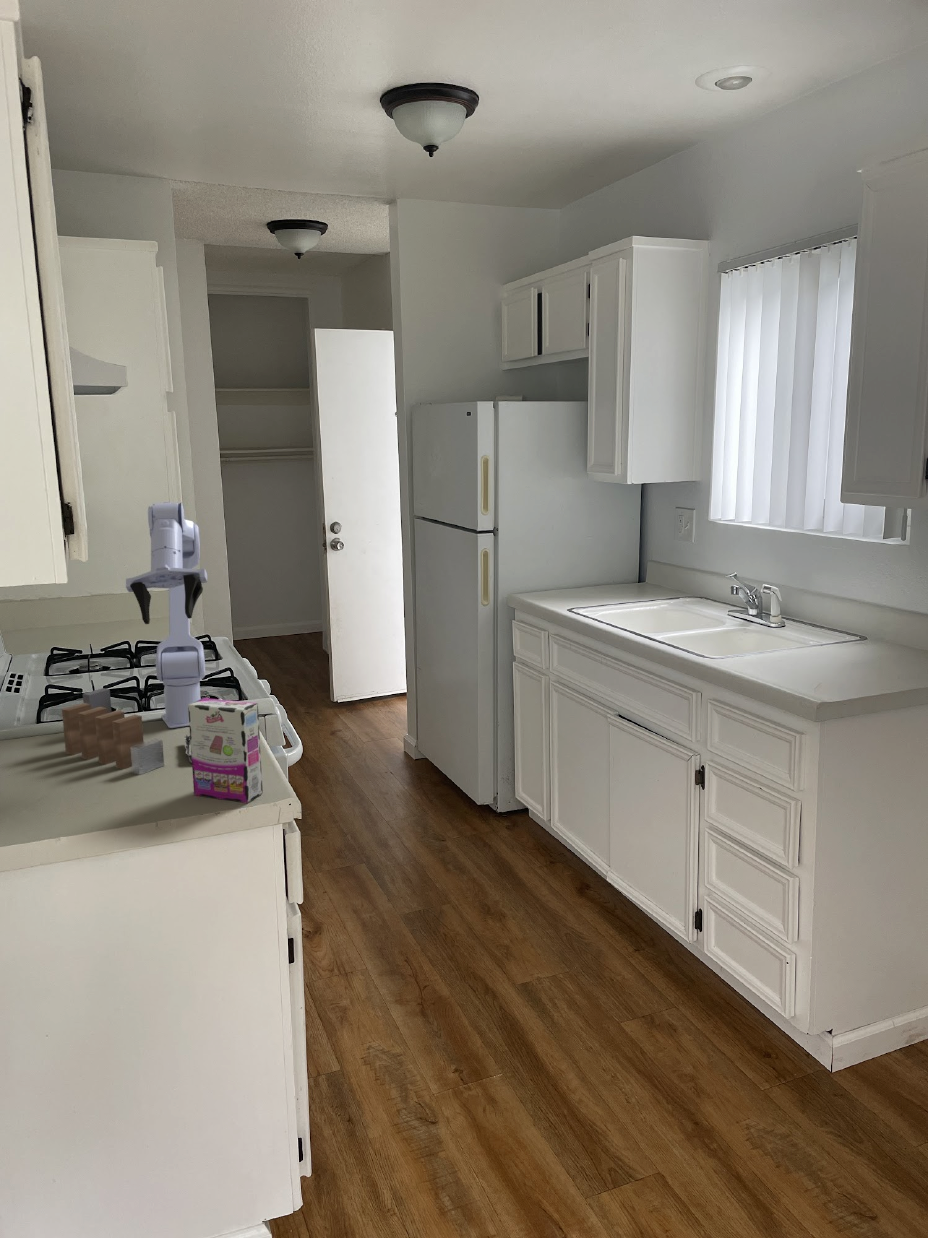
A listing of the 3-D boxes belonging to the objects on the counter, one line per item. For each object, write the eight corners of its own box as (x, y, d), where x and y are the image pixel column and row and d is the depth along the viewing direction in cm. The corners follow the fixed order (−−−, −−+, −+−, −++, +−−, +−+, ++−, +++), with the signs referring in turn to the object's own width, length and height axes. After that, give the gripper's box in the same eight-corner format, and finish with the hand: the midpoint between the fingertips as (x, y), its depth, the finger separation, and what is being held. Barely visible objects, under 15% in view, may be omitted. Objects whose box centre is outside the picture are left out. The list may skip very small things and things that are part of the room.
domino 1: (65, 753, 182) (61, 709, 180) (88, 746, 186) (84, 702, 184) (72, 755, 180) (68, 710, 179) (94, 748, 185) (90, 704, 183)
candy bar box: (264, 793, 161) (259, 702, 158) (248, 804, 156) (243, 710, 153) (209, 785, 165) (204, 696, 161) (192, 795, 160) (186, 704, 157)
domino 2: (86, 735, 192) (82, 693, 190) (106, 729, 196) (103, 688, 195) (92, 737, 191) (88, 695, 189) (113, 730, 195) (109, 689, 193)
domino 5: (116, 767, 174) (112, 721, 172) (138, 759, 178) (134, 714, 176) (123, 769, 173) (119, 723, 171) (145, 761, 177) (141, 716, 175)
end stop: (132, 772, 171) (130, 747, 170) (157, 763, 176) (155, 738, 175) (139, 774, 170) (137, 748, 169) (164, 765, 174) (162, 740, 173)
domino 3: (82, 758, 179) (78, 713, 177) (104, 750, 183) (100, 706, 181) (88, 760, 178) (84, 714, 176) (110, 752, 182) (107, 708, 180)
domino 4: (98, 762, 176) (94, 717, 175) (120, 755, 180) (117, 710, 179) (105, 764, 175) (101, 718, 174) (127, 756, 179) (124, 712, 178)
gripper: (121, 549, 172) (119, 613, 166) (200, 540, 173) (202, 602, 167) (132, 570, 178) (131, 631, 172) (209, 560, 180) (211, 621, 173)
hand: (167, 618), depth 170 cm, fingers open, 7 cm apart
